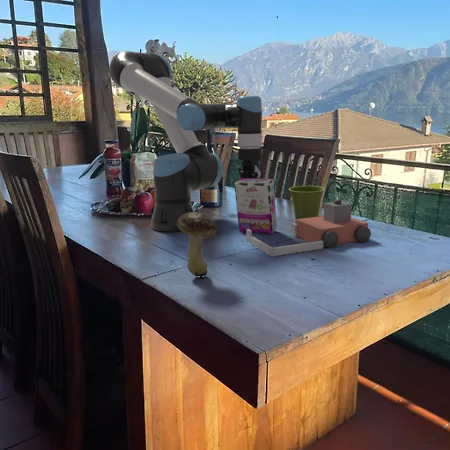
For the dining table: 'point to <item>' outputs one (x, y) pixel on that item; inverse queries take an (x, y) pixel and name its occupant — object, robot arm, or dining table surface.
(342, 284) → the dining table surface
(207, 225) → the mushroom
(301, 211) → the plant pot
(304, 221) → the toy tractor
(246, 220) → the candy bar box
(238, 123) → the robot arm
